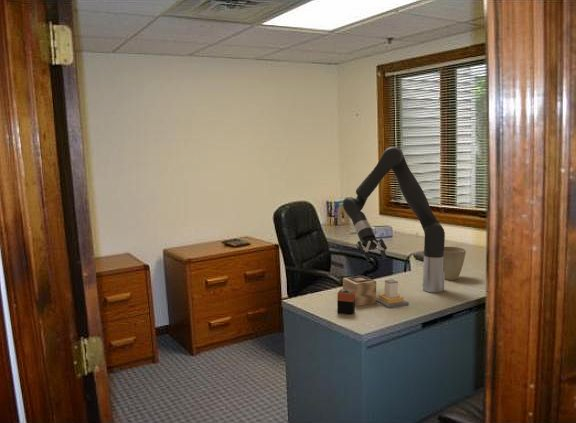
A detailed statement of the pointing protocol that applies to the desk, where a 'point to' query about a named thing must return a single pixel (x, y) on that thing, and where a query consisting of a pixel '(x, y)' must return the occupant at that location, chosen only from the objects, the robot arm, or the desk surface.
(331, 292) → the desk surface
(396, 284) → the plug
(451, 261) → the plant pot
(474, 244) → the desk surface
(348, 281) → the wood grain square block
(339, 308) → the battery
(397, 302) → the orange-framed grey plate
